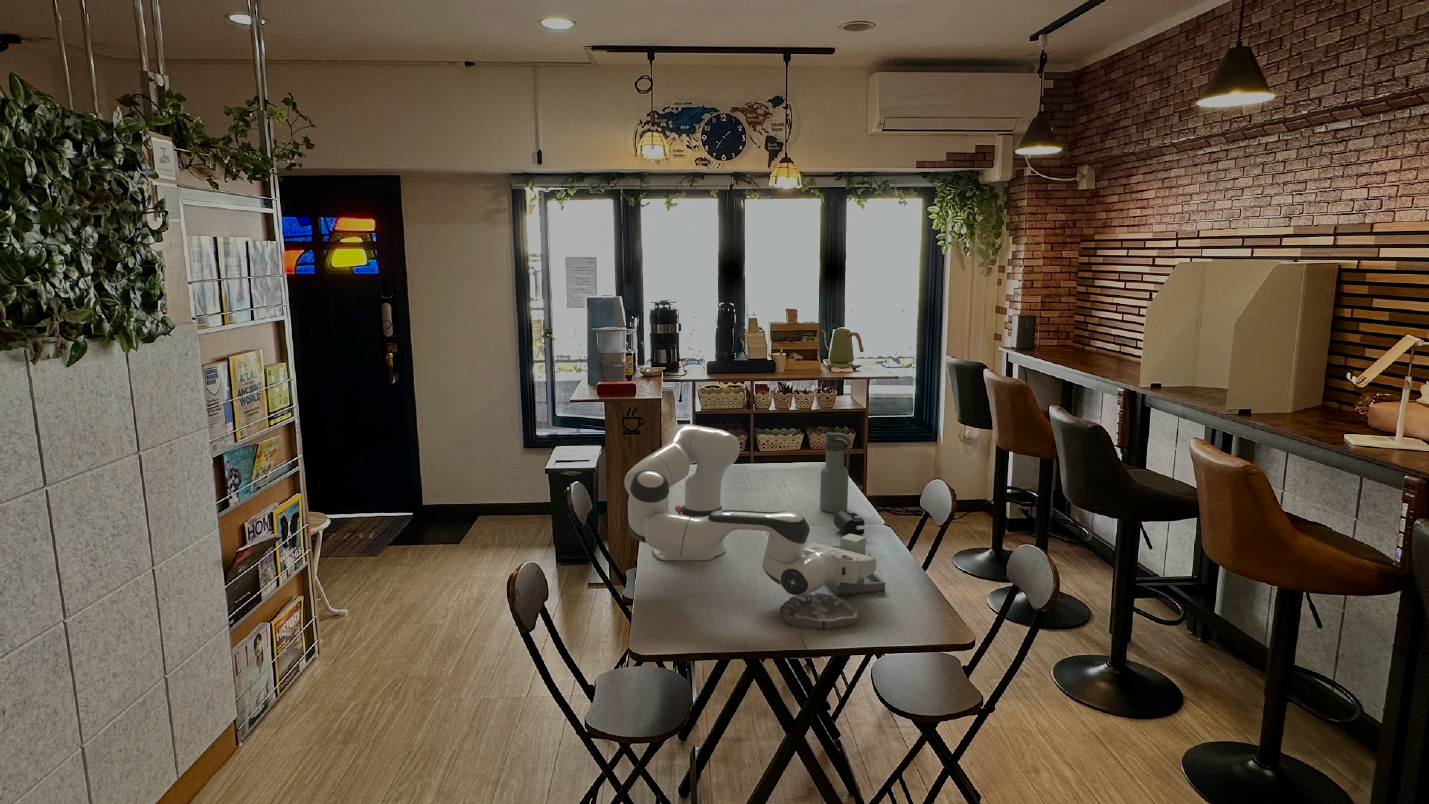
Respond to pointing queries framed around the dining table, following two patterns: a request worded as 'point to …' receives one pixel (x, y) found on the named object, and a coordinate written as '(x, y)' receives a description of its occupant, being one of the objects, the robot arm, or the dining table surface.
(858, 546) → the sage block
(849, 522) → the end cap
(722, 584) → the dining table surface
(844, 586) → the grey tray
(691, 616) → the dining table surface
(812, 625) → the brain slice
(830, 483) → the water bottle
